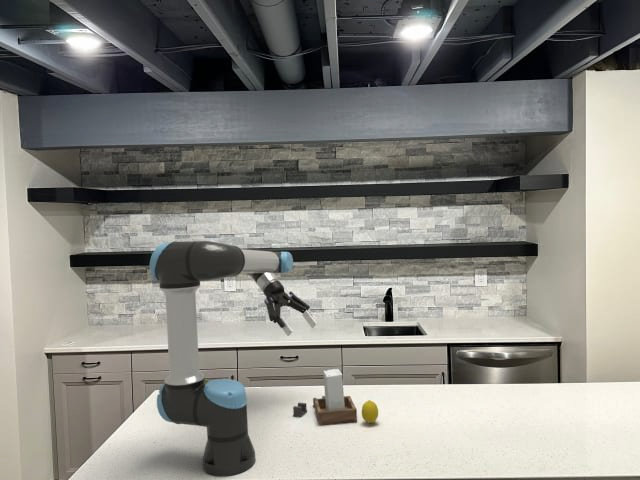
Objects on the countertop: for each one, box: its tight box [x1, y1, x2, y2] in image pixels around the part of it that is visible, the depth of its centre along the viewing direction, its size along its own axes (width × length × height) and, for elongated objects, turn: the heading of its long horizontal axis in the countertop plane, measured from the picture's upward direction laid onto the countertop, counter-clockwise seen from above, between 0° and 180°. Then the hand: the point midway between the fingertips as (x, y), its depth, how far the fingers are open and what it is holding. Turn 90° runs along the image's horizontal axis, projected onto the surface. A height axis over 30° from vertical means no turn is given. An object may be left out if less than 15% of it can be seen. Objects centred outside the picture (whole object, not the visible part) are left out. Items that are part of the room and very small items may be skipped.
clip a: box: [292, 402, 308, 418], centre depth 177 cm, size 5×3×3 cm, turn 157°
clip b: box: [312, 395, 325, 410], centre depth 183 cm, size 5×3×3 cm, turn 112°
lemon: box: [361, 399, 379, 425], centre depth 166 cm, size 6×6×8 cm
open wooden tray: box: [314, 395, 358, 427], centre depth 173 cm, size 13×13×4 cm
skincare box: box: [322, 368, 345, 411], centre depth 173 cm, size 8×6×15 cm
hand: (302, 329), depth 179 cm, fingers open, 13 cm apart
